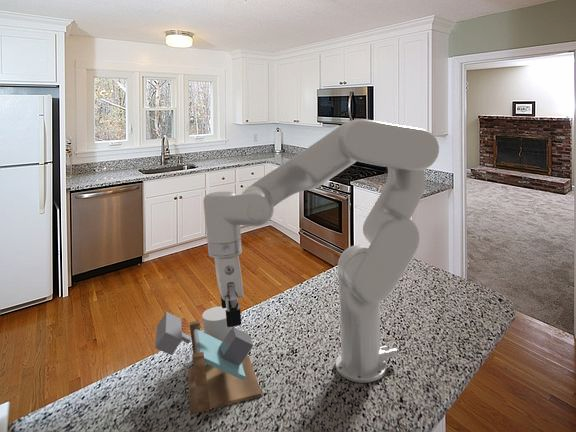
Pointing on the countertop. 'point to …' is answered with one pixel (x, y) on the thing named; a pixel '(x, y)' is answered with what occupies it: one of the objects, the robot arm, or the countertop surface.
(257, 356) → the countertop surface
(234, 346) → the grey block
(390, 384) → the countertop surface
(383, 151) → the robot arm
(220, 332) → the cup
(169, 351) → the trapdoor
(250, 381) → the frame
